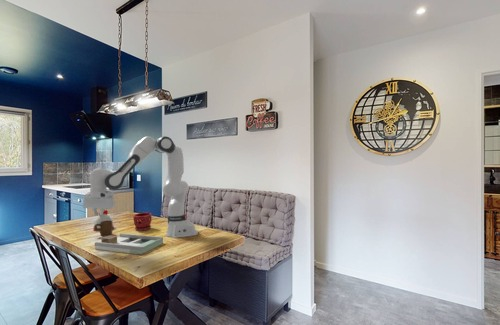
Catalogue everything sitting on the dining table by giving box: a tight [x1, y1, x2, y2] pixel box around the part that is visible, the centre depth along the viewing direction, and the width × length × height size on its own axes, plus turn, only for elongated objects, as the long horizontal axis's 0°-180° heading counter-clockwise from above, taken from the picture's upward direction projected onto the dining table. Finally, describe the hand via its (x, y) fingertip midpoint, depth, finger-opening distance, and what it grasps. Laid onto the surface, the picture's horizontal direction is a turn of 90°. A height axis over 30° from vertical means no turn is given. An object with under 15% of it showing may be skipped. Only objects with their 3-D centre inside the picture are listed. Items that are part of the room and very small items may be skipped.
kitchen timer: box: [93, 209, 114, 232], centre depth 197 cm, size 14×14×15 cm
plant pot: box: [133, 212, 152, 231], centre depth 195 cm, size 13×13×12 cm
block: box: [100, 235, 118, 244], centre depth 154 cm, size 6×6×4 cm
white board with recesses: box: [94, 232, 164, 254], centre depth 155 cm, size 34×20×4 cm, turn 73°
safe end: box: [129, 238, 164, 255], centre depth 151 cm, size 8×20×4 cm, turn 163°
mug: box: [93, 221, 113, 237], centre depth 179 cm, size 12×8×9 cm, turn 146°
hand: (98, 215), depth 156 cm, fingers open, 2 cm apart
